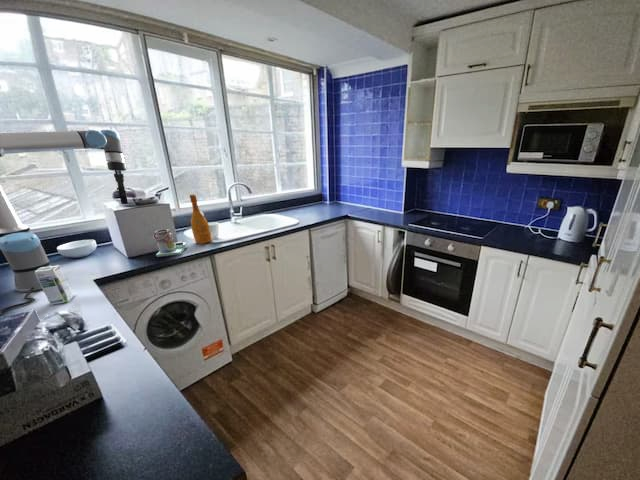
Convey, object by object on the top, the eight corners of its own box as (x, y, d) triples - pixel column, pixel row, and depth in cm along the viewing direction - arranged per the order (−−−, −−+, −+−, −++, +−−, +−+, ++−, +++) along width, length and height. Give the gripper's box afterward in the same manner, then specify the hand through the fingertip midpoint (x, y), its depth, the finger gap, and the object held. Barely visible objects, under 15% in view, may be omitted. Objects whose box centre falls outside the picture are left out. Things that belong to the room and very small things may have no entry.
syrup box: (49, 305, 116) (32, 272, 110) (57, 298, 121) (41, 266, 115) (68, 302, 118) (52, 269, 112) (74, 295, 123) (59, 264, 117)
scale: (182, 254, 168) (180, 249, 167) (156, 257, 164) (155, 252, 163) (188, 246, 180) (186, 241, 179) (164, 249, 177) (163, 244, 176)
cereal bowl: (68, 253, 174) (63, 242, 171) (103, 248, 180) (99, 237, 177) (56, 262, 160) (50, 250, 157) (94, 257, 166) (89, 245, 163)
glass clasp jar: (168, 254, 164) (161, 233, 160) (154, 253, 165) (148, 233, 161) (179, 248, 173) (173, 228, 168) (166, 248, 174) (160, 228, 169)
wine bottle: (200, 245, 182) (188, 196, 170) (192, 242, 187) (179, 195, 175) (215, 241, 190) (204, 193, 178) (206, 238, 195) (195, 192, 183)
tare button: (182, 245, 174) (181, 242, 174) (174, 246, 173) (173, 243, 173) (183, 243, 178) (183, 241, 177) (176, 244, 177) (175, 241, 176)
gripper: (124, 159, 147) (133, 202, 151) (125, 166, 166) (133, 204, 171) (105, 158, 143) (115, 202, 147) (108, 165, 162) (116, 204, 166)
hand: (124, 203), depth 159 cm, fingers open, 13 cm apart
